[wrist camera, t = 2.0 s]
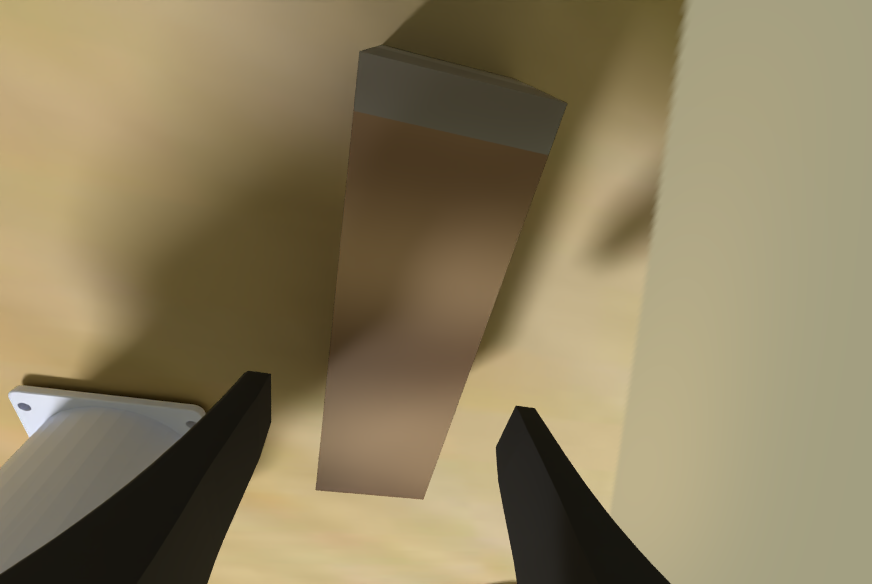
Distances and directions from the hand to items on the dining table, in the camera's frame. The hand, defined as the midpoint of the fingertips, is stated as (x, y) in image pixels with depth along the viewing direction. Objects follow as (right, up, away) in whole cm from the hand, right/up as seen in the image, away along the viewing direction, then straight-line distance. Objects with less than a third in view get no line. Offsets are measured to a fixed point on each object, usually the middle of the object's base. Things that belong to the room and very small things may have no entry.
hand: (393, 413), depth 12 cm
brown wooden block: (0, +5, +3) cm, 6 cm away
